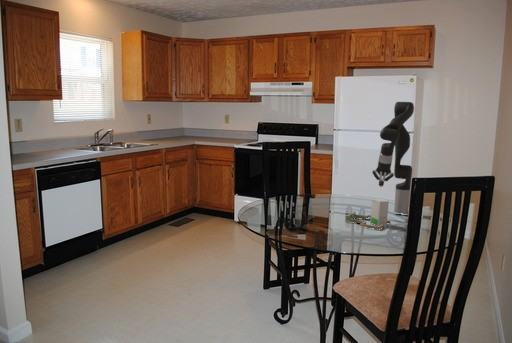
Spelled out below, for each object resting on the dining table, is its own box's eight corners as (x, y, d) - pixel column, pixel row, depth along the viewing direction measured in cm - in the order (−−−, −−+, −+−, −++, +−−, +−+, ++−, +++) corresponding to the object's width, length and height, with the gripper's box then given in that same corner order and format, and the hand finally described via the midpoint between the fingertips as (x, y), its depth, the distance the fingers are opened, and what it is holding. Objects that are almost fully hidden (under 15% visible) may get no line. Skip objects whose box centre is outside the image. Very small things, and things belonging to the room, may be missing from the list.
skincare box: (369, 223, 250) (371, 198, 248) (378, 222, 252) (380, 197, 250) (378, 227, 242) (379, 201, 240) (387, 226, 245) (389, 200, 243)
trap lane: (357, 216, 268) (357, 210, 267) (393, 222, 254) (393, 215, 254) (341, 223, 248) (342, 217, 248) (380, 230, 235) (380, 223, 234)
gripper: (397, 159, 245) (392, 185, 253) (374, 156, 249) (370, 181, 256) (396, 164, 239) (391, 190, 246) (373, 161, 242) (369, 187, 250)
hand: (380, 186), depth 251 cm, fingers closed
